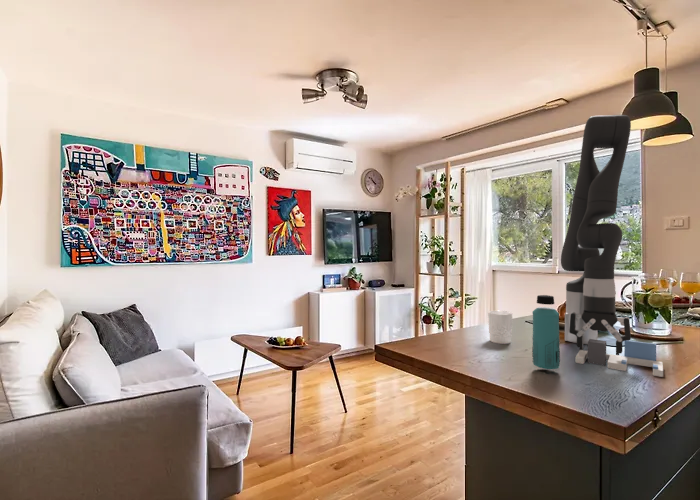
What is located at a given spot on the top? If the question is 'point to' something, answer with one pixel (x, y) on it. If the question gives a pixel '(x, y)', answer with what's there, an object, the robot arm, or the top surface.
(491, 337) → the white cup
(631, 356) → the white prong rack
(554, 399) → the top surface
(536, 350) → the beverage bottle
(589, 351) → the plug
